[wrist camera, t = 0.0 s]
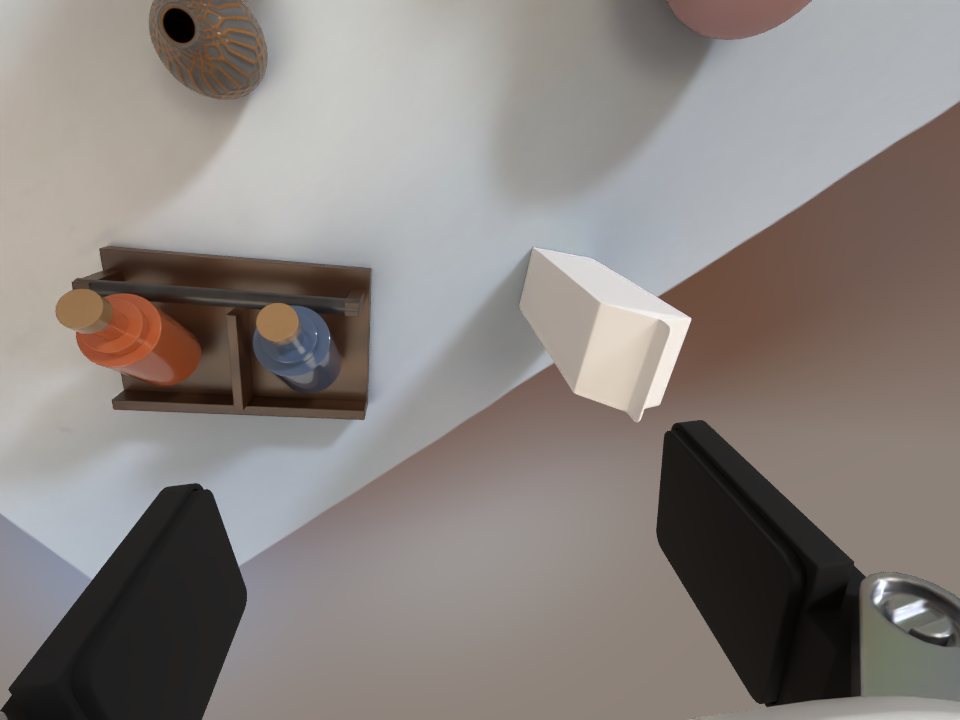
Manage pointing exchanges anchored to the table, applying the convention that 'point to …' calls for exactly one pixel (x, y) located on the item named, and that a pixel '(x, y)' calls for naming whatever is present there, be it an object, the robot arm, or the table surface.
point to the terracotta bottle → (130, 336)
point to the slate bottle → (296, 347)
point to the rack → (242, 329)
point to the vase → (209, 45)
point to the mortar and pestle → (734, 16)
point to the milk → (602, 330)
